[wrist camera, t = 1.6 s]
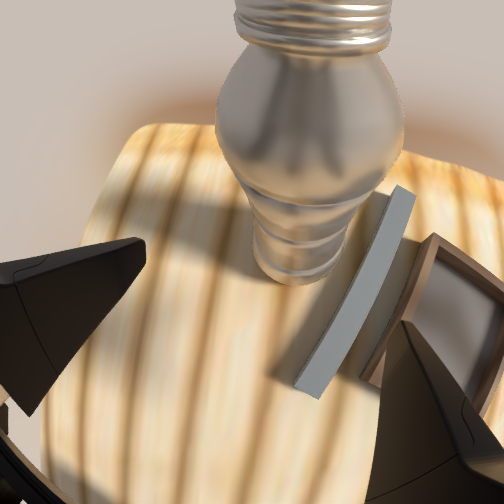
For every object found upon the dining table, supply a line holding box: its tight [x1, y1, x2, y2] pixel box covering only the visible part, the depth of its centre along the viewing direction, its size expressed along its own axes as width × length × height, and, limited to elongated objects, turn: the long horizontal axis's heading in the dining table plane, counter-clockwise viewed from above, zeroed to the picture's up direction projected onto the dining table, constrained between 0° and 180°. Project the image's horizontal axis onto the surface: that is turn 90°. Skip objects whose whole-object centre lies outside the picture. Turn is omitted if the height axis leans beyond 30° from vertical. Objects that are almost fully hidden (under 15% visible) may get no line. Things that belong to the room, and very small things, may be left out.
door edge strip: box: [293, 185, 416, 400], centre depth 20 cm, size 18×2×2 cm, turn 148°
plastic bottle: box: [215, 0, 405, 286], centre depth 13 cm, size 6×7×20 cm
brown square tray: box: [359, 232, 504, 419], centre depth 17 cm, size 13×13×2 cm
